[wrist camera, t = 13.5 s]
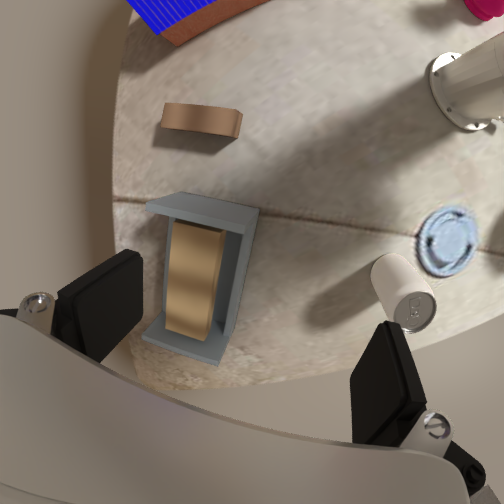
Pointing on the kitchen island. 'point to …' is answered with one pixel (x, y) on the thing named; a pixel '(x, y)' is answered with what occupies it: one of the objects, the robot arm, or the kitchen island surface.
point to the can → (403, 293)
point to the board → (193, 277)
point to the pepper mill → (486, 8)
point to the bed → (230, 276)
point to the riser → (202, 119)
